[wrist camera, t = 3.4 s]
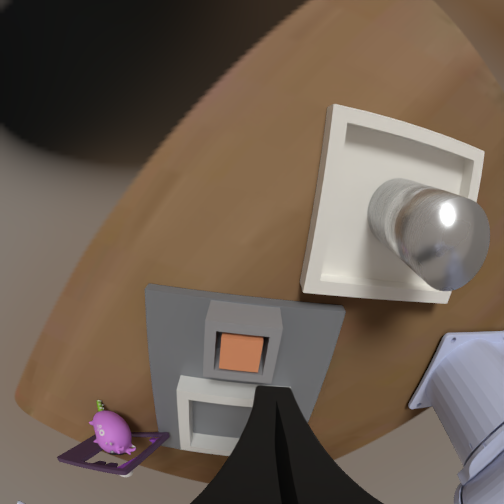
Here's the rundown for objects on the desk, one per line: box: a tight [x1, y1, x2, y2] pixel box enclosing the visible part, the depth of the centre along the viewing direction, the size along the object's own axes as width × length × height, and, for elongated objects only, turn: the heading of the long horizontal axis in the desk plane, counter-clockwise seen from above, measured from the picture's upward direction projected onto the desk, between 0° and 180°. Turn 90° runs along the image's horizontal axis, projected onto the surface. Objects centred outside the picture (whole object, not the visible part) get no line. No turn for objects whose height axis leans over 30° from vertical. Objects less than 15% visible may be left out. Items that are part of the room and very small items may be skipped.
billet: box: [367, 178, 490, 291], centre depth 13 cm, size 4×4×6 cm
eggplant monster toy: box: [57, 400, 170, 477], centre depth 20 cm, size 7×5×9 cm
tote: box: [300, 104, 485, 304], centre depth 16 cm, size 10×10×1 cm
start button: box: [219, 332, 263, 372], centre depth 17 cm, size 2×2×2 cm
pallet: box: [145, 284, 346, 456], centre depth 20 cm, size 12×16×3 cm
